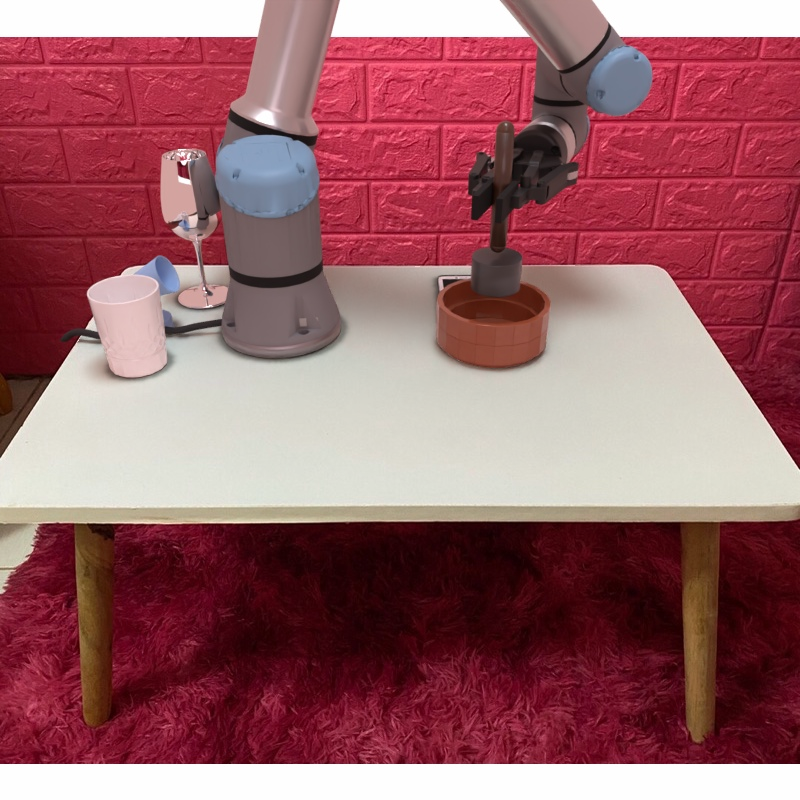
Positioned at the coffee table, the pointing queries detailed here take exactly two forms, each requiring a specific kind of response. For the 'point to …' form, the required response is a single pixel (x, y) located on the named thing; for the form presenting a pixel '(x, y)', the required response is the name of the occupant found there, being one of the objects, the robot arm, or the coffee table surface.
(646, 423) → the coffee table surface
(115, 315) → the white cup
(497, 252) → the peg on round base
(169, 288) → the spotlight
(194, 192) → the wineglass
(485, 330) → the bowl
